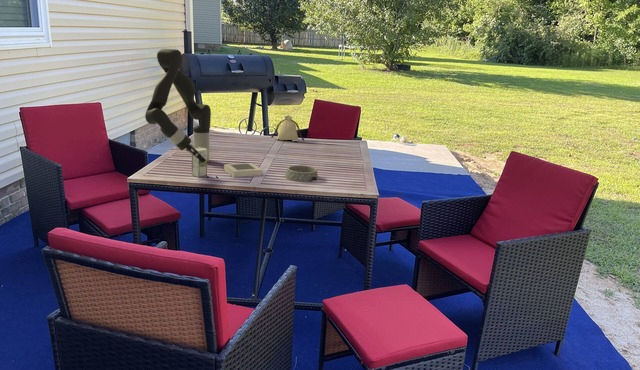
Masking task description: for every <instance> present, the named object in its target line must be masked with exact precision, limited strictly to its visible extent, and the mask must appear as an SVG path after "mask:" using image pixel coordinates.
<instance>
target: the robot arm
mask: <svg viewBox="0 0 640 370" xmlns="http://www.w3.org/2000/svg"><path fill="white" fill-rule="evenodd" d="M156 58H157V59H156V60H157V62H158V64H159V66H160V67H161V69H162V70H163V71H164V72H165V75H164V76H163V77H162V78H161V80H159V81H158V83H157V84H156V85H155V88H154V90H153V94H152V98H151V101H150V103H149V104H148V106H147V109H146V111H145V116H144V117H145V121H146V122H147V123H148V124H150V125H156V124H157V125H158V126H159V127H160V131H161V133H162V134H164V136H166V138H168V139H169V141H170V142H171V143H173V145H175V146H176V148H178V149H179V150H181V151H183V150H185V151H186V152H188V153H189V154H191V156H192V155H193V156H195V157H196V158H198V159H199V160H200V161H201V162H202V163H204V162H205V161H206V160H205V159H204V158H203V157H202V156H201V154H199V153H198V151H197V150H196V149H195V148H200V147H201V148H205V149H207V163H208V162H210V128H211V118H212V111H211V106H210V105H209V104H203V103H202V104H201V103H197V102H196V101H195V95H196V86H195V85H194V82H193V81H192V80H191V78H190V77H189V76H188V75H187V74H186V73H184V72H183V71H181V70H180V69H181V66H182V63H183V54H182V52H181V51H180V50H179V49H174V48H173V49H172V48H161V49H159V50H158V51H157V53H156ZM172 86H174V87H175V89H176V91H177V93H178V95H179V96H180V97H181V99H182V101H183V103H184V104H185V107H186V109H187V111H188V114H189V115H190V117H191V118H192V119H193V120H196V121H200V124H198V125H195V126H193V128H192V130H193V132H192V133H193V134H192V135H193V136H192V137H193V139H191V138H190V137H189V136H188V135H187V134H186V133H185V132H184V131H183V130H182V129H181V128H179V127H177V126H176V125H175V123H174V122H173V121H172V120H171V118H169V116H168V114H167V113H166V112H165V111H164V110H163V108H164V107H165V106H166V105H167V102H168V98H169V95H170V92H171V88H172ZM192 140H193V141H192ZM191 142H192V144H193V145H192V144H191ZM197 153H198V155H197V156H196V154H197Z"/></svg>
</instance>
